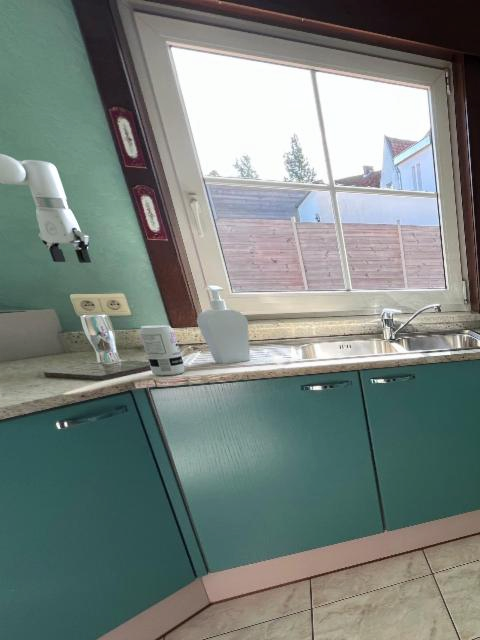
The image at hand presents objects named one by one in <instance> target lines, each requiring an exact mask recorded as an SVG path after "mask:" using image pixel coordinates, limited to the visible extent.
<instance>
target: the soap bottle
mask: <svg viewBox="0 0 480 640" xmlns="http://www.w3.org/2000/svg"><path fill="white" fill-rule="evenodd" d="M203 289H204V291H209V290H210V293H211V295H212V299H210V300H209V302H210V306H211V308H206V309H205V310H203V311H201V312H200V313H199V315H198V316H197V317H196V324H197V326H198V328H199V330H200V333H201V335H202V337H203V339H204V342H205V343H206V346H207V348H208V350H209V352H210V354H211V356H212V358H213V360H214V362H215V363H219V364H223V365H228V364H233V363H242V362H247V361H250V360H251V355H250V338H249V337H250V336H249V320H248V319H247V317H246V316H245V315H244V314H242V313H241V312H239V311H237V310H234V309H231V308H227V304H226V300H225V299H221V296H220V292H221V291H223V292H224V288H223V287H221V286H219V285H205V286H204V288H203ZM219 291H220V292H219Z"/></svg>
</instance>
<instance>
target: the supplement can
mask: <svg viewBox="0 0 480 640" xmlns="http://www.w3.org/2000/svg"><path fill="white" fill-rule="evenodd" d="M139 336H140V338H141V342H142V346H143V348H144V351H145V355H146V357H147V362H149V364H150V367H151V370H150V371H151V373H152V374H153V375H155V376H156V375H172V376H174V375H173V374H178V375H181V374H180V373H182V374H184V373H185V371H186V367H185V363H184V360H183V356H182V354H181V353H182V352H181V350H180V346H179V342H178V340H177V336H176V333H175V330H174V329H173V328H172V326H171V325H170V324H149V325H142V326H140V329H139ZM183 372H184V373H183Z"/></svg>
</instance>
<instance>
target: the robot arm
mask: <svg viewBox="0 0 480 640" xmlns="http://www.w3.org/2000/svg"><path fill="white" fill-rule="evenodd" d="M58 171H59V170H58V169H57V167H56V166H55V164H53V163H51V162H50V161H44V160H38V159H37V160H36V159H24V160H17V159H16V158H14V157H12V156H9V155H6V154H3V153H0V184H4V185H9V186H22V185H23V186H24V185H25V186H28V188H29V190H30V193H31V195H32V199H33V202H34V204H35V206H36V209H35V215H36V221H37V224H38V229H39V231H40V232H39V233H38V235H37V236H38V237H39V238H40V240H41V241H42V243H43V244H44V245H45V246H46V248H47V249H48V250H49V253H50V257H51V259H52V261H53V262H54V263H65V262H66V258H65V255H64V252H63V249H62V248H60V247H61V244H70V245H72V246H73V247H74V248H75V249H74V251H75V254H76V258H77V260H78V262H79V263H80V264H90V263H92V260H91V257H90V255H89V252H88V250H89V245H90V243H89V240H90V237H89V235H88V234H86V233H84V232H83V231H81V228H80V226H79V223H78V221H77V219H76V216H75V215H74V212H73V211H72V210H71V209H72V208H71V207H70V204H69V201H68V198H67V196H66V192H65V189H64V186H63V183H62V180H61V177H60V174H59V172H58Z"/></svg>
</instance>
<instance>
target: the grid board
mask: <svg viewBox="0 0 480 640" xmlns="http://www.w3.org/2000/svg"><path fill="white" fill-rule="evenodd" d="M148 370H149V371H152V370H151V367H150V364H149V361H148V360H130V359H122V361H119V362H114V363H98V362H97V361H95V362H90V363H85V364H79V365H74V366H67V367H64V368H58V369H53V370H47V371H43V374H44V377H45V378H57V379H70V380H71V379H73V380H87V381H88V380H89V381H107V380H108V381H109V380H112V379H116V378H121V377H126V376H131V375H136V374H139V373H143V372H148Z"/></svg>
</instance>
